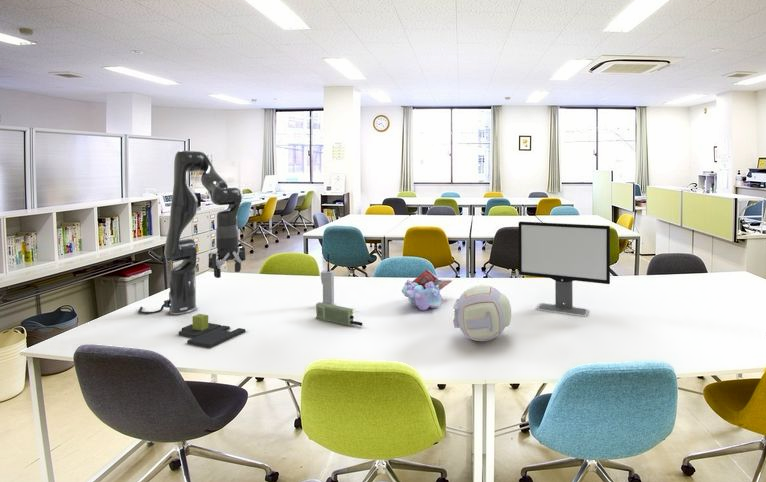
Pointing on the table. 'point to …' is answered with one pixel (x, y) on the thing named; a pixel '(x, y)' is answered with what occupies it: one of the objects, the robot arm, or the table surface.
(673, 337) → the table surface
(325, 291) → the vintage mobile phone
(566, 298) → the computer monitor
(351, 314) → the handheld radio
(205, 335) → the charcoal pad
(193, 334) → the black pad
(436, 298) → the lavender knobbly lump
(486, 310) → the paneled ball
